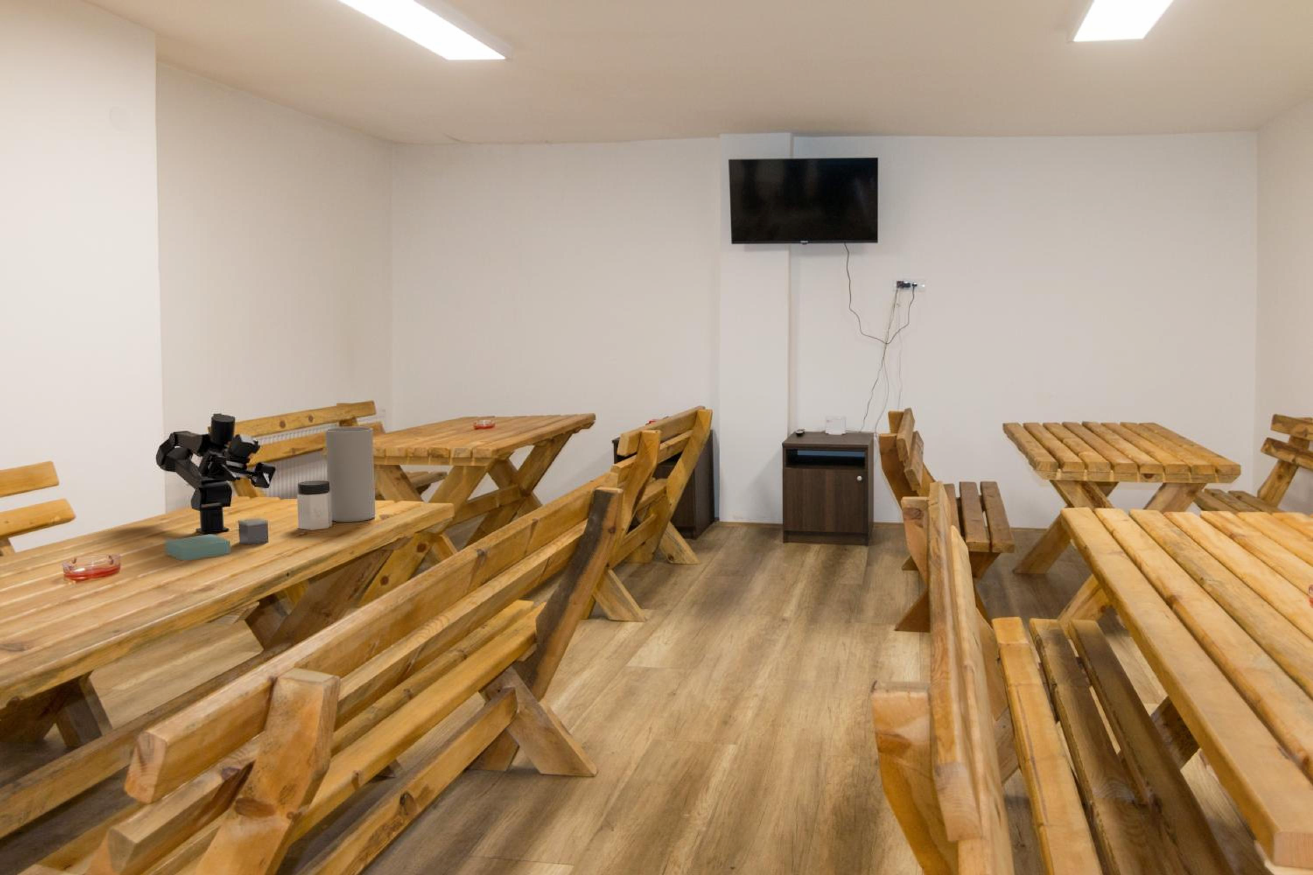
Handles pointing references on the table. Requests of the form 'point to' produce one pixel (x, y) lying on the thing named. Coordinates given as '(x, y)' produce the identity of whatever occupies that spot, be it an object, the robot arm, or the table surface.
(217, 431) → the robot arm
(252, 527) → the tin
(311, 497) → the jar
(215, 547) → the teal box
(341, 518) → the cylinder vase
